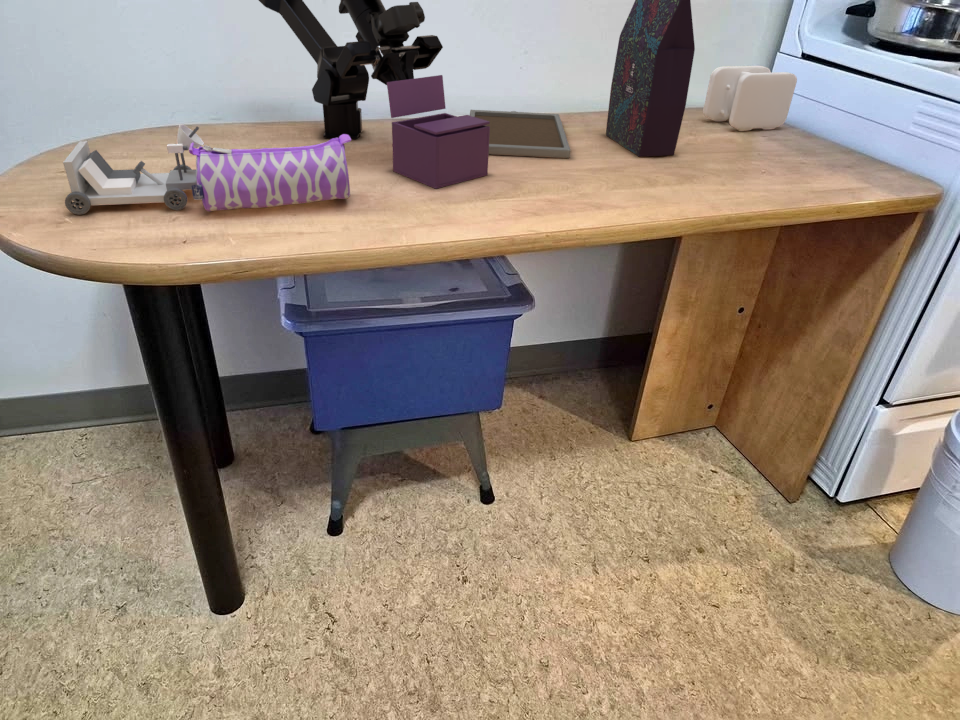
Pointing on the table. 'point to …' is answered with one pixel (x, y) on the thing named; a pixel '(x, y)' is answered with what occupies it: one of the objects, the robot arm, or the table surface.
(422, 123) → the box
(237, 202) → the pencil case
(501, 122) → the grey rectangular tray
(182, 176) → the toy car
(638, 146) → the decorative box
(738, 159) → the table surface
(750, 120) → the cable organizer
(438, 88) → the flap
